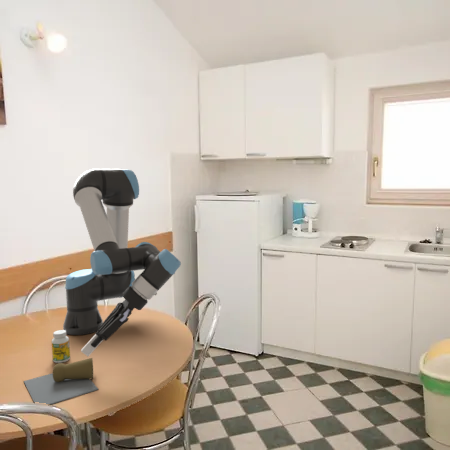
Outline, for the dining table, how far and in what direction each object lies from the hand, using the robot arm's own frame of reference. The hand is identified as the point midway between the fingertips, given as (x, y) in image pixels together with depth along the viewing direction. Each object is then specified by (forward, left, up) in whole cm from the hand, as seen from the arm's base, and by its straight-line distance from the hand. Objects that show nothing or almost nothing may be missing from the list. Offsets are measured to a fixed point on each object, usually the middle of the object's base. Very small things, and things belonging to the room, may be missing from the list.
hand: (84, 353), depth 119 cm
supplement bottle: (-18, -2, -8) cm, 20 cm away
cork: (+1, +2, -5) cm, 5 cm away
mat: (0, -7, -8) cm, 11 cm away
